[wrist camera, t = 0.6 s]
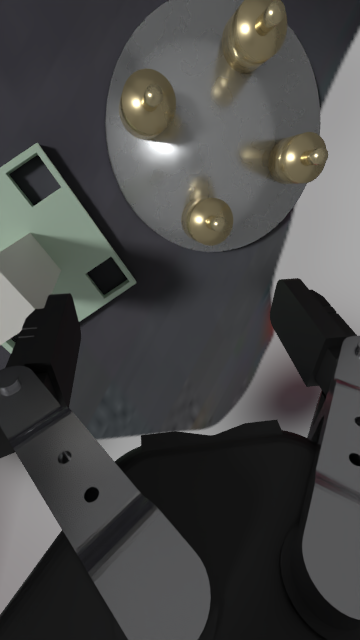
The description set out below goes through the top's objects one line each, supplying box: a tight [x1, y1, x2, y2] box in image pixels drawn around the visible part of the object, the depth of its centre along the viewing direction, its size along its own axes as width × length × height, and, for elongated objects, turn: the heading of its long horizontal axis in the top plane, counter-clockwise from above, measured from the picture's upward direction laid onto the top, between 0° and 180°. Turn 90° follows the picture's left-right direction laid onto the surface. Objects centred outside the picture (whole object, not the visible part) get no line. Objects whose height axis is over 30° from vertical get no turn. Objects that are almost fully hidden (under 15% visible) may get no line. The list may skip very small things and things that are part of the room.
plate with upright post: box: [0, 143, 137, 353], centre depth 23 cm, size 14×14×13 cm
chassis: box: [105, 0, 328, 252], centre depth 26 cm, size 20×20×6 cm
